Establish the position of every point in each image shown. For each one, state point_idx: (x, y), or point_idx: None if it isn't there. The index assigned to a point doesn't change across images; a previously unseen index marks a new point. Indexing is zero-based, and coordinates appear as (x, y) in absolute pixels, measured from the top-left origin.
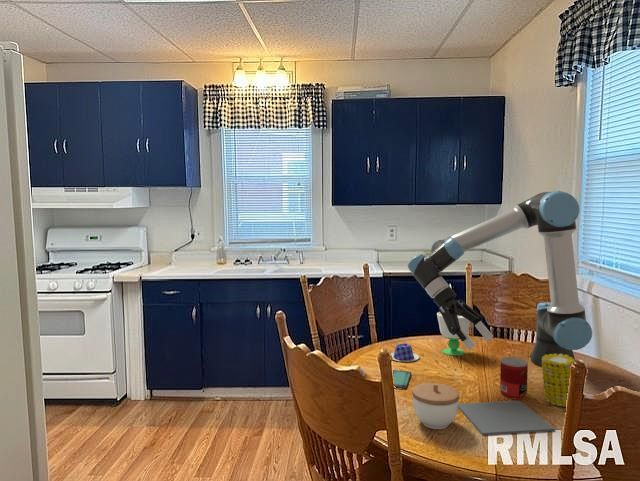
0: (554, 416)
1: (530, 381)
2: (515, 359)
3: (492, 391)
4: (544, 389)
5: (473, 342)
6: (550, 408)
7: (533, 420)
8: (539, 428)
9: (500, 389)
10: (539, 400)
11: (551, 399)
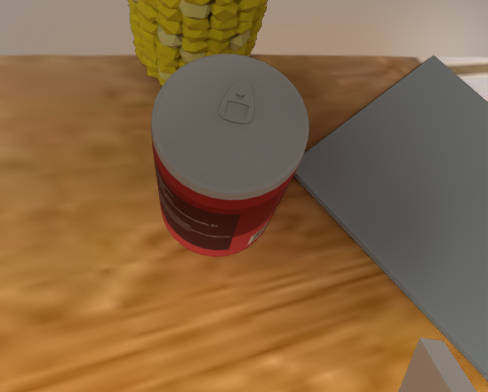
0: (330, 65)
1: (4, 167)
2: (177, 121)
3: (233, 293)
4: None
5: (439, 367)
6: None
7: (423, 107)
8: (463, 88)
9: (241, 249)
10: None
11: None
